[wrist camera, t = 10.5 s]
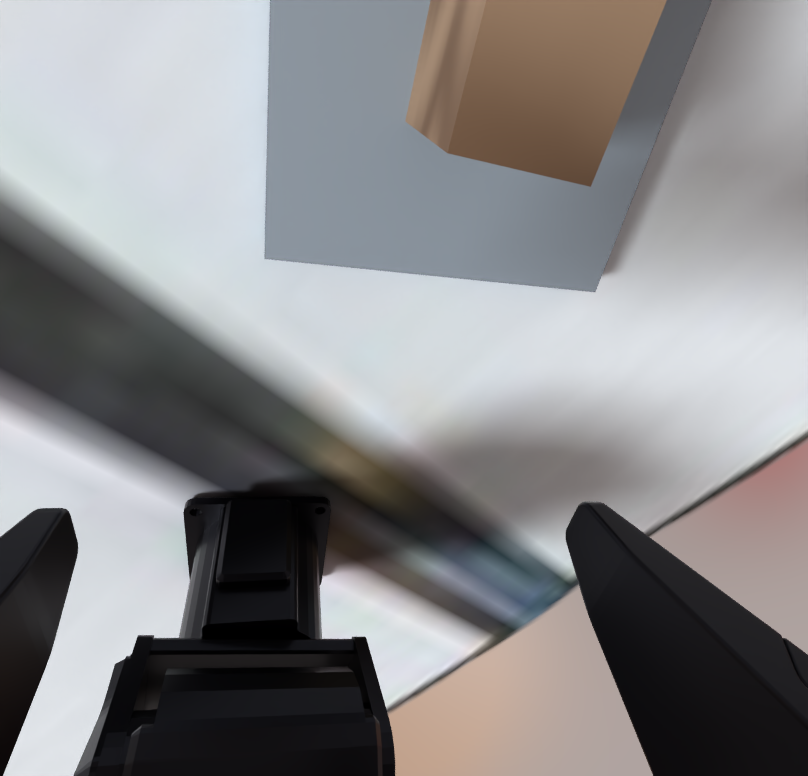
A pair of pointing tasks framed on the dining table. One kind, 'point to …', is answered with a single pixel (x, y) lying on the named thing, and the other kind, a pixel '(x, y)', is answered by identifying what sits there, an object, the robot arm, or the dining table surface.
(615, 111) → the brown wooden block
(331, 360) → the dining table surface
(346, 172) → the bracket
